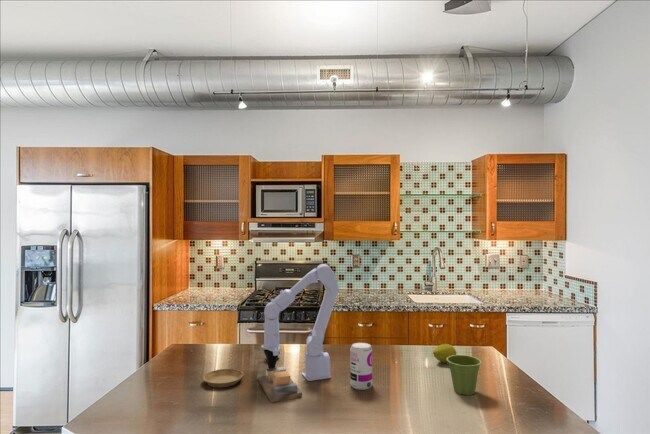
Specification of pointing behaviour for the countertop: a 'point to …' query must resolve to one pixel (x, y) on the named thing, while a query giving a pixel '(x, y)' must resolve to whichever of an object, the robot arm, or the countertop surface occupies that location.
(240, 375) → the plant saucer
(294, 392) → the flat wooden platform
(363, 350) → the supplement can
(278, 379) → the light brown cube
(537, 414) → the countertop surface
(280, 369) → the grey rectangular block
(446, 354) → the lemon
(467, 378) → the plant pot
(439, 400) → the countertop surface
